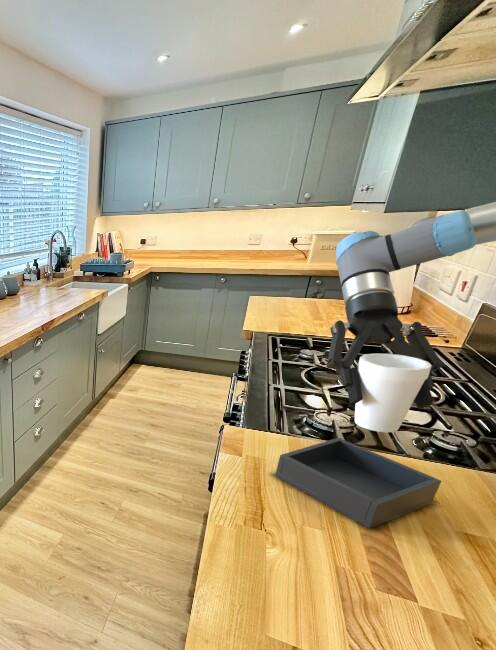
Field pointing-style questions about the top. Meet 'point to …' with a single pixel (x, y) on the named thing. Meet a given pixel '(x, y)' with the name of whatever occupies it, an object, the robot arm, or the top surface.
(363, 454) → the tray
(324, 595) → the top surface
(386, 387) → the foam cup
